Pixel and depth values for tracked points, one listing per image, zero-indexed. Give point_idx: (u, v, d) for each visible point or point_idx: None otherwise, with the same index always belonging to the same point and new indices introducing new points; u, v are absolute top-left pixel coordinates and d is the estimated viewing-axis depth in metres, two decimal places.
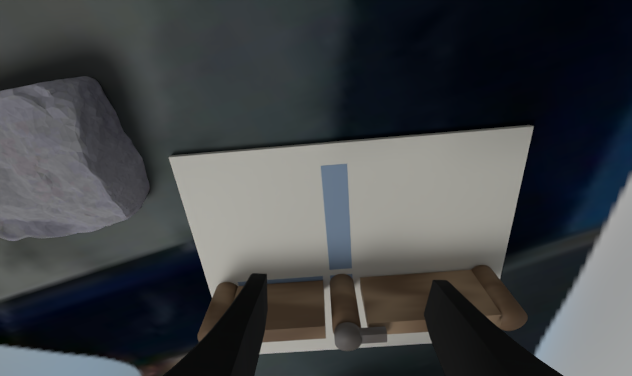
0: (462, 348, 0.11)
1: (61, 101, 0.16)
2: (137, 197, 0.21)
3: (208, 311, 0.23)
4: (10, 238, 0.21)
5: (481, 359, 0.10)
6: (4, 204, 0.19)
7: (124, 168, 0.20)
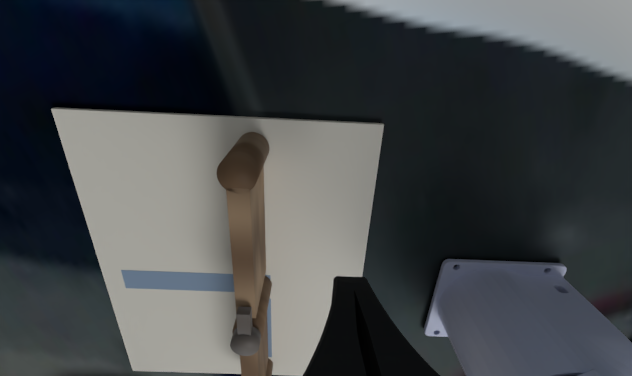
0: (362, 345, 0.11)
1: None
2: None
3: None
4: None
5: (369, 356, 0.10)
6: None
7: None
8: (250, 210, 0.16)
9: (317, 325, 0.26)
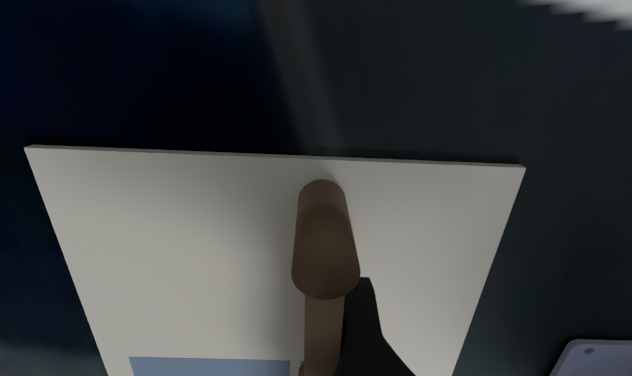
0: (343, 345, 0.11)
1: None
2: None
3: None
4: None
5: None
6: None
7: None
8: (341, 321, 0.10)
9: None
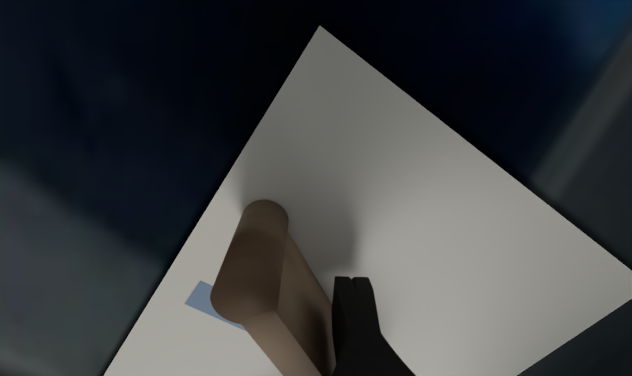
0: (343, 345, 0.11)
1: None
2: None
3: None
4: None
5: None
6: None
7: None
8: (292, 335, 0.10)
9: None
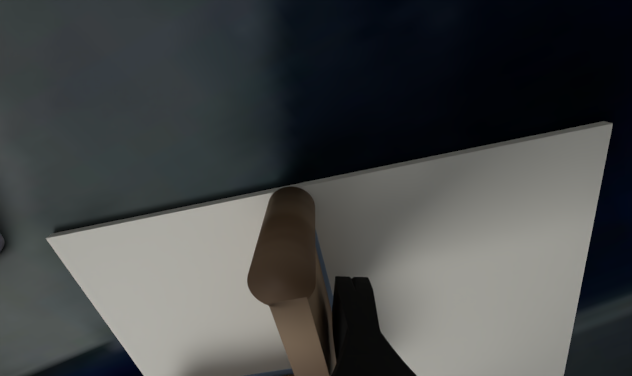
0: None
1: None
2: None
3: None
4: None
5: None
6: None
7: None
8: (314, 325, 0.10)
9: None
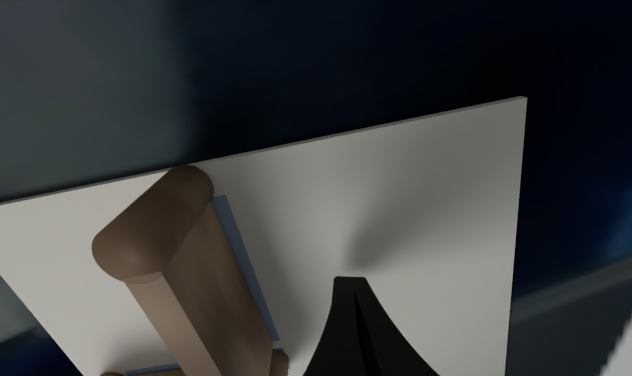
0: (362, 345, 0.11)
1: None
2: None
3: None
4: None
5: (369, 356, 0.10)
6: None
7: None
8: (179, 302, 0.09)
9: None
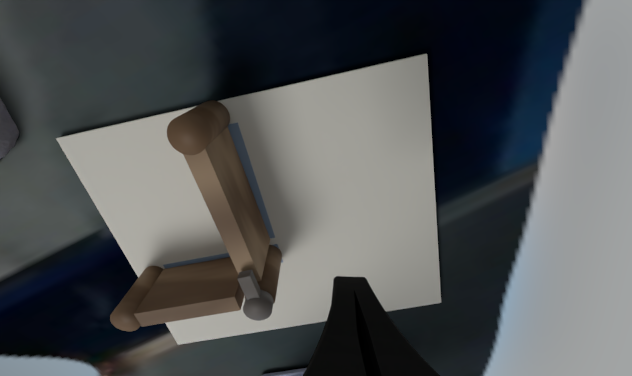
0: (362, 345, 0.11)
1: None
2: None
3: (125, 295, 0.22)
4: None
5: (370, 356, 0.10)
6: None
7: None
8: (213, 169, 0.16)
9: None
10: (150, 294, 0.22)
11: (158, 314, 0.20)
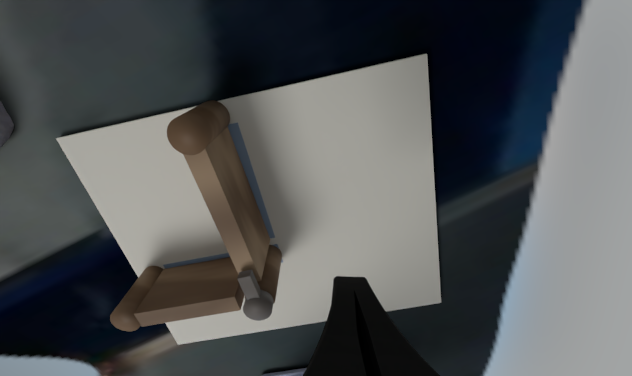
0: (362, 345, 0.11)
1: None
2: None
3: (125, 295, 0.22)
4: None
5: (370, 356, 0.10)
6: None
7: None
8: (213, 169, 0.16)
9: None
10: (150, 294, 0.22)
11: (158, 314, 0.20)
